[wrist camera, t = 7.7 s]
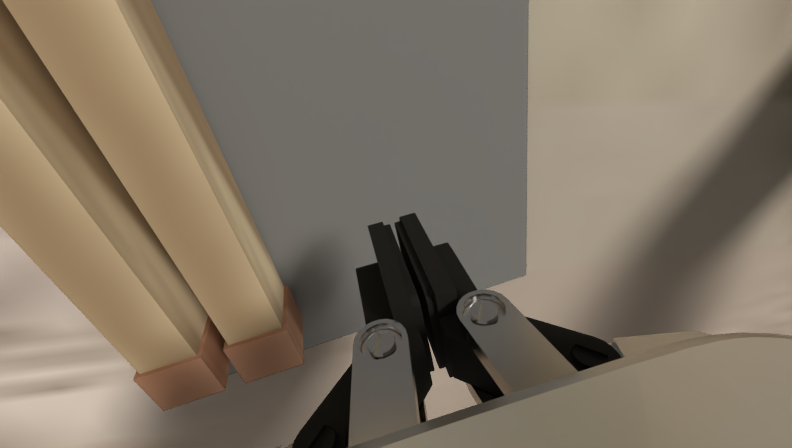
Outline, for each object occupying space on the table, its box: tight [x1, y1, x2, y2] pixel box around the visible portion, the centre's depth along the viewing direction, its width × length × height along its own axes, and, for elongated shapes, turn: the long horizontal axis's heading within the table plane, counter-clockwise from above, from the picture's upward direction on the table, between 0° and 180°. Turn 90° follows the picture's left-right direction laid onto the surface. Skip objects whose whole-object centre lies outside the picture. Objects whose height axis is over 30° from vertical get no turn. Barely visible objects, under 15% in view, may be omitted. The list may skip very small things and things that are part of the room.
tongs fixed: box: [0, 0, 230, 411], centre depth 11 cm, size 5×27×4 cm, turn 11°
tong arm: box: [2, 0, 304, 383], centre depth 11 cm, size 6×27×4 cm, turn 10°
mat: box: [151, 0, 529, 375], centre depth 14 cm, size 22×32×1 cm
